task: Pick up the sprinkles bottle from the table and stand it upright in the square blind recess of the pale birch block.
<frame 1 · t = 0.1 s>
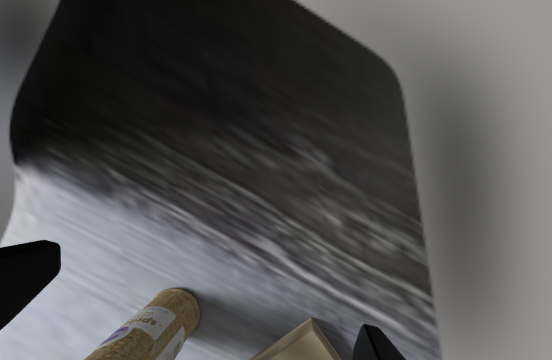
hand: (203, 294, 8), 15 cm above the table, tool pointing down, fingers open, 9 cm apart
sprinkles bottle: (177, 311, 24), on the table
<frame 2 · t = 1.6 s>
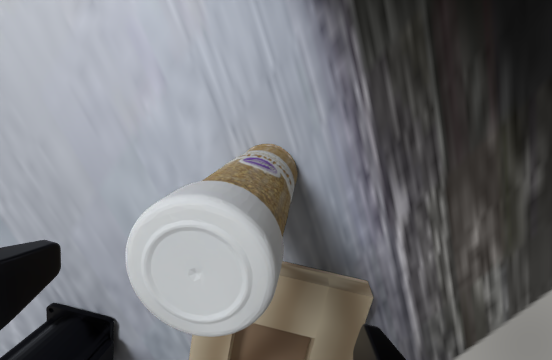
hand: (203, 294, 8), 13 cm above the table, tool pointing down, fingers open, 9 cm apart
sprinkles bottle: (267, 172, 21), on the table
socket block: (270, 340, 24), on the table
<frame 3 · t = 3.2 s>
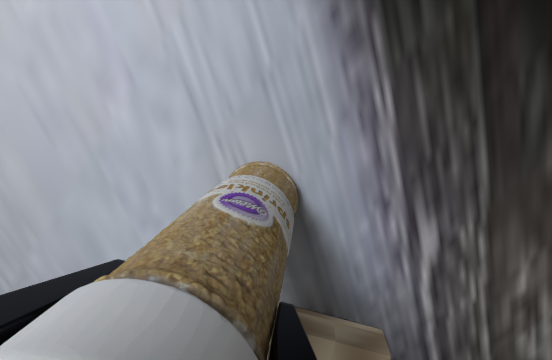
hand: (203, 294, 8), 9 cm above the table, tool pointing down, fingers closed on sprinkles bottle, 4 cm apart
sprinkles bottle: (261, 195, 16), on the table, touching gripper
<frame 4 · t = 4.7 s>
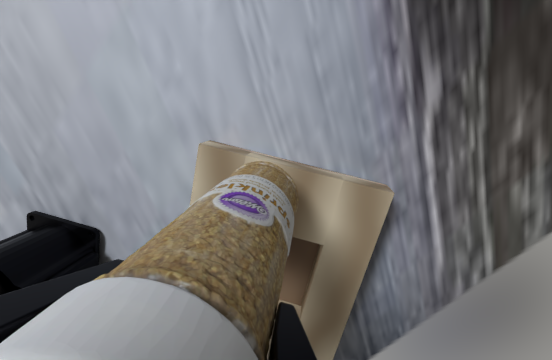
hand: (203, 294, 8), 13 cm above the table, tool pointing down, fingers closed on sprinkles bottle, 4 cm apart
sprinkles bottle: (261, 195, 16), point 4 cm above the table, touching gripper
socket block: (271, 257, 21), on the table
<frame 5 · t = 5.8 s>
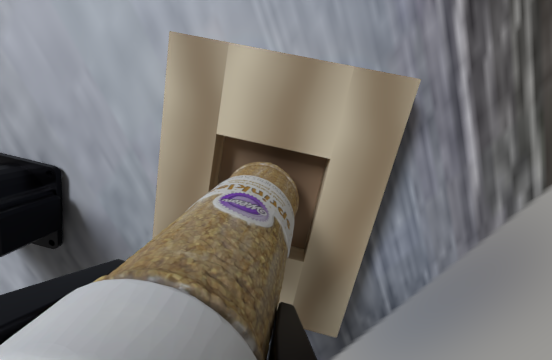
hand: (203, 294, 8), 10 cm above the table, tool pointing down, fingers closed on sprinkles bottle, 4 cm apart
sprinkles bottle: (262, 196, 16), point 1 cm above the table, touching gripper
socket block: (267, 190, 18), on the table
when the fingers open (10 cm above the table, at t = 6.6 s): sprinkles bottle stays where it is, resting on socket block.
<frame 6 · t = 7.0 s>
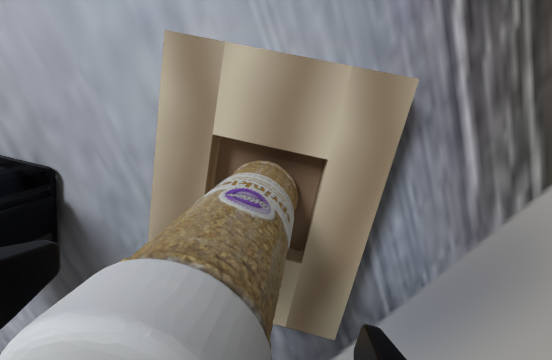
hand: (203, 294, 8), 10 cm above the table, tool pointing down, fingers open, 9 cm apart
sprinkles bottle: (262, 193, 17), resting on socket block
socket block: (264, 191, 17), on the table
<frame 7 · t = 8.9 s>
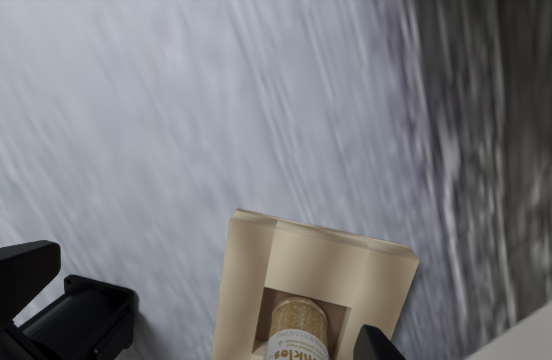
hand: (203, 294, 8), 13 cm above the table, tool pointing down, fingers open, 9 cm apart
sprinkles bottle: (299, 315, 22), resting on socket block
socket block: (300, 313, 22), on the table
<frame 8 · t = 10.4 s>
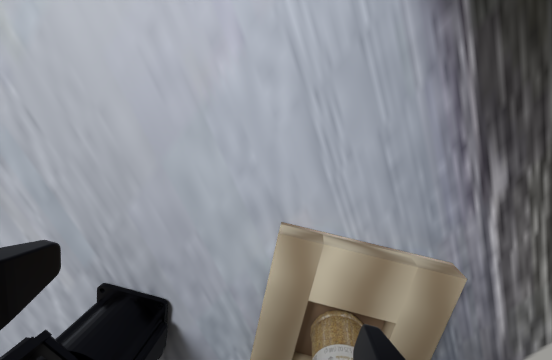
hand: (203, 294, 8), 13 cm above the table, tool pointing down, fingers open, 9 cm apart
sprinkles bottle: (336, 329, 22), resting on socket block
socket block: (337, 326, 22), on the table
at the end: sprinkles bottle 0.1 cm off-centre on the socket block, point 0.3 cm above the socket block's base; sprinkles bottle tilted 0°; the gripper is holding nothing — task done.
